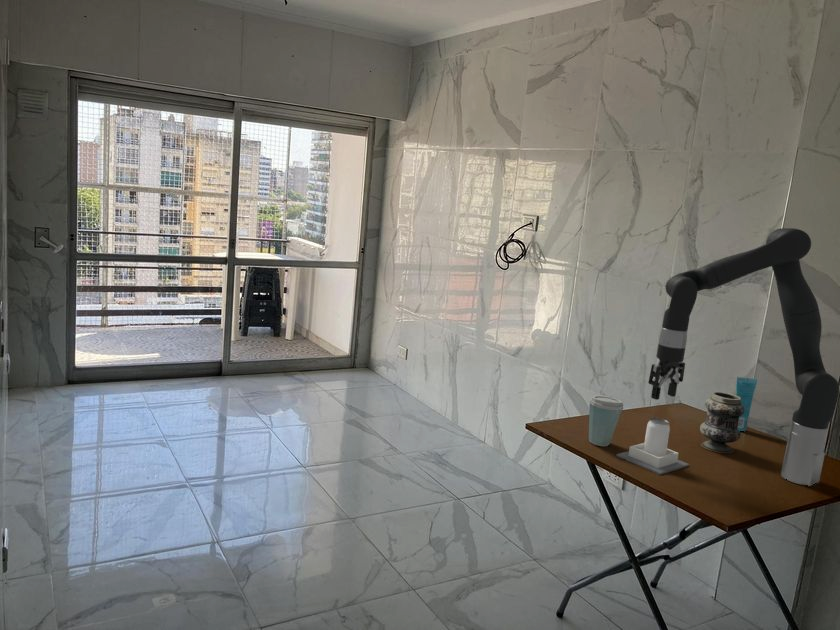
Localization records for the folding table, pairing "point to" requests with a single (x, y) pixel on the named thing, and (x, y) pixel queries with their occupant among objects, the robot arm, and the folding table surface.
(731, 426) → the apothecary jar
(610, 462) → the folding table surface
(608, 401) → the disposable coffee cup
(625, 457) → the board
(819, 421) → the robot arm
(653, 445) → the can
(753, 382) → the tube
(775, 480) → the folding table surface
